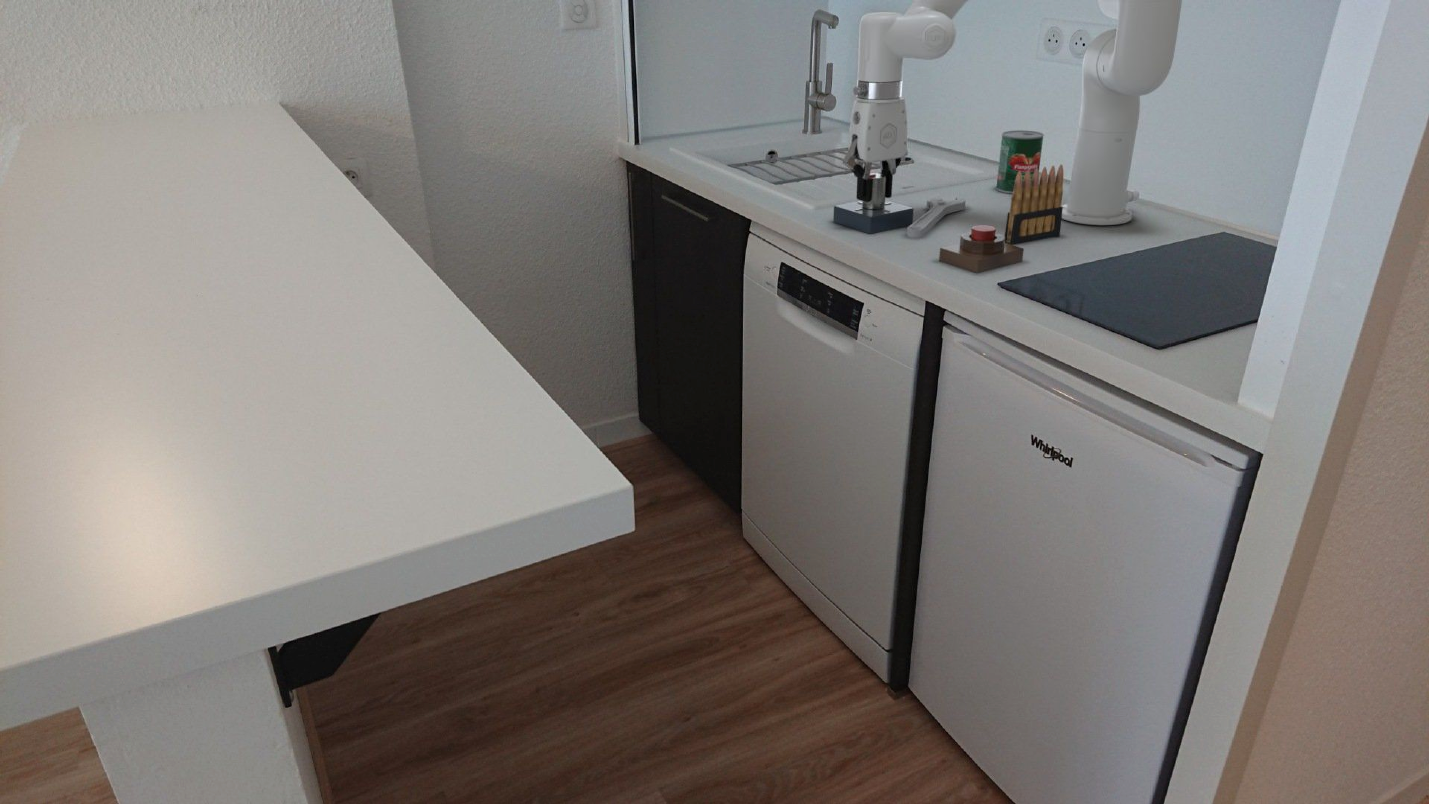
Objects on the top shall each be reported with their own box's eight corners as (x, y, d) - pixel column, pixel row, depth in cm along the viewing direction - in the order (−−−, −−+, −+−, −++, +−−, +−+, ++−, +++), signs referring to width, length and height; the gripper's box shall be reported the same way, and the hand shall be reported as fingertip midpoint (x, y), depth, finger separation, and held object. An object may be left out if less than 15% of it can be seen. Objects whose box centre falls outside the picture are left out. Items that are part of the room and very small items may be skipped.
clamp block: (875, 213, 177) (875, 196, 176) (912, 224, 170) (913, 207, 168) (833, 222, 172) (833, 204, 171) (870, 234, 165) (870, 215, 163)
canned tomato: (1020, 196, 187) (1026, 138, 182) (987, 189, 193) (993, 133, 188) (1045, 189, 191) (1052, 133, 186) (1012, 183, 197) (1018, 128, 192)
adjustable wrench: (920, 240, 161) (920, 229, 161) (884, 235, 164) (885, 225, 164) (968, 206, 180) (969, 197, 179) (936, 203, 183) (936, 193, 183)
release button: (982, 234, 150) (983, 223, 149) (999, 239, 147) (1000, 228, 146) (965, 238, 148) (966, 227, 147) (983, 243, 145) (984, 232, 145)
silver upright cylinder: (874, 202, 172) (876, 170, 170) (889, 207, 169) (891, 174, 167) (857, 206, 170) (858, 173, 168) (872, 210, 167) (874, 177, 165)
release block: (983, 250, 155) (985, 226, 153) (1022, 262, 148) (1025, 237, 147) (938, 261, 150) (940, 236, 148) (977, 273, 144) (979, 248, 142)
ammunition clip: (1051, 233, 162) (1061, 162, 157) (1059, 236, 161) (1069, 164, 156) (1003, 242, 158) (1011, 170, 153) (1010, 245, 157) (1019, 172, 152)
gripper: (855, 98, 154) (851, 209, 162) (931, 88, 162) (923, 195, 170) (826, 93, 160) (823, 201, 168) (900, 84, 168) (894, 188, 176)
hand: (873, 197), depth 169 cm, fingers closed on silver upright cylinder, 4 cm apart
